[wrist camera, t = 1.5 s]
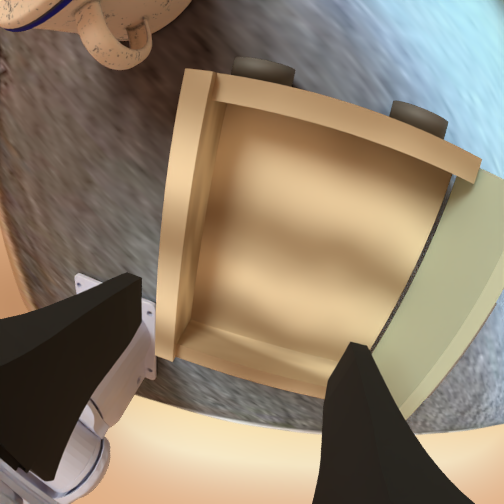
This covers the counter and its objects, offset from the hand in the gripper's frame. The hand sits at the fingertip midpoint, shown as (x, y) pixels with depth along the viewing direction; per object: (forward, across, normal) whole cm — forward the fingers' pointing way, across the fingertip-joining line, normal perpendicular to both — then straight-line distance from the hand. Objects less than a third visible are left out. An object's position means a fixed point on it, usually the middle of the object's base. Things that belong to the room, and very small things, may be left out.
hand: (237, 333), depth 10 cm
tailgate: (+8, -9, 0) cm, 12 cm away
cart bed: (+10, -2, 0) cm, 10 cm away
